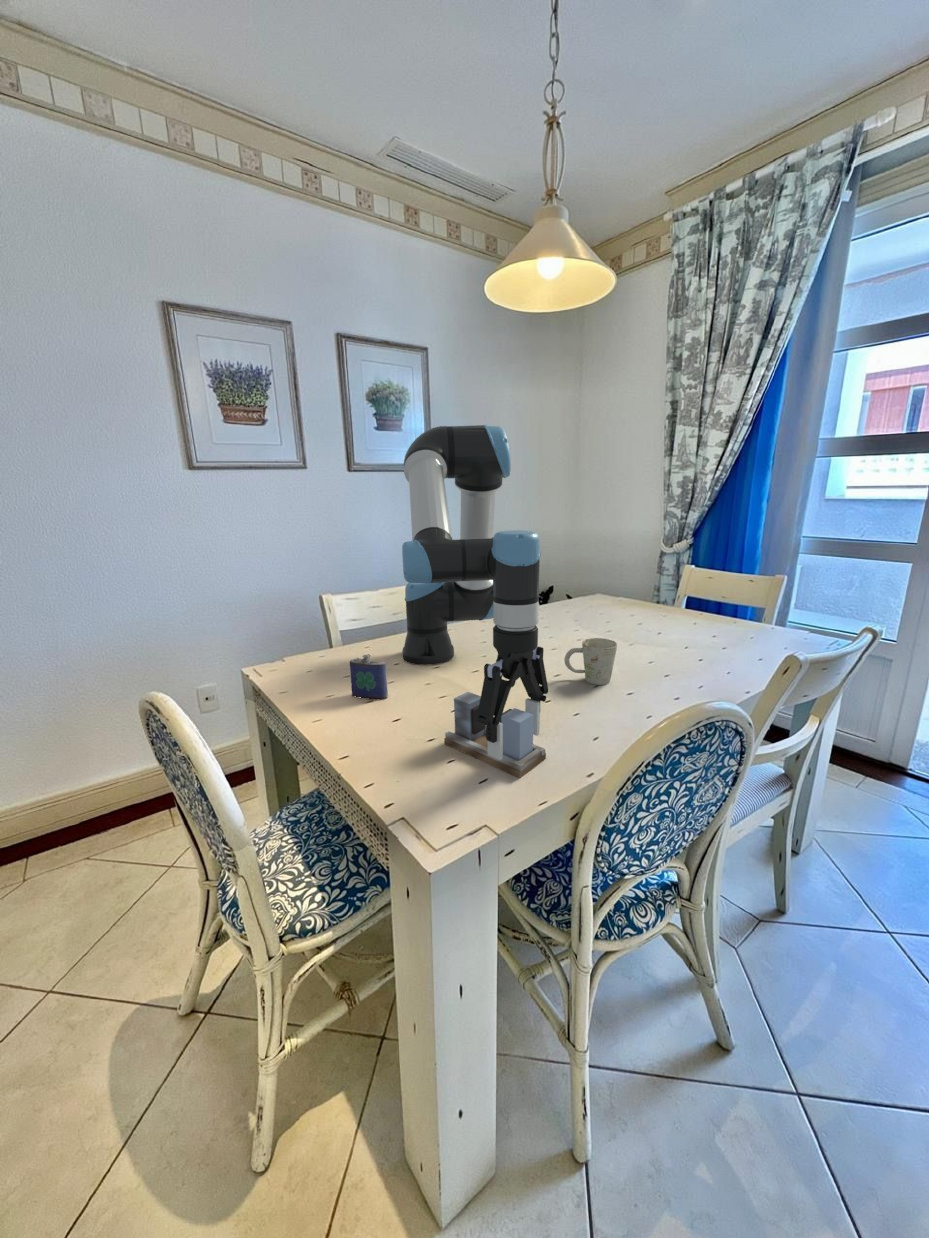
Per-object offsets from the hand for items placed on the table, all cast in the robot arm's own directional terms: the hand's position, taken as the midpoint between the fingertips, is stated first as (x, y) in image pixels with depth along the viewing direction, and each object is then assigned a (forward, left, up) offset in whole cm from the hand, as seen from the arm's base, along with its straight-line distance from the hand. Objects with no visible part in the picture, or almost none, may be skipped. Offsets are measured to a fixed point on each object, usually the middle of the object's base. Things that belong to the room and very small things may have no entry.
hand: (514, 744), depth 88 cm
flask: (-44, +1, -4) cm, 44 cm away
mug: (-8, +43, -4) cm, 44 cm away
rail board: (-5, 0, -3) cm, 6 cm away
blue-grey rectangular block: (0, 0, -2) cm, 2 cm away
